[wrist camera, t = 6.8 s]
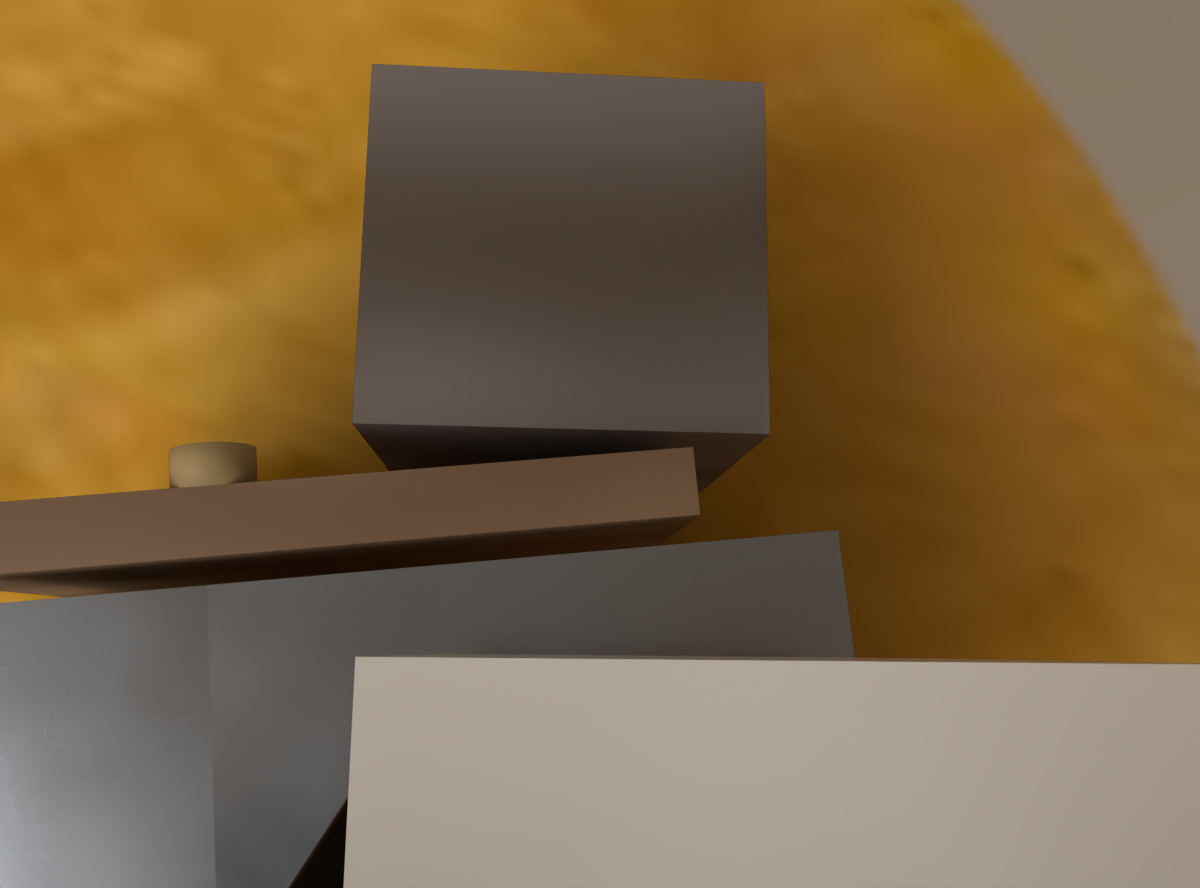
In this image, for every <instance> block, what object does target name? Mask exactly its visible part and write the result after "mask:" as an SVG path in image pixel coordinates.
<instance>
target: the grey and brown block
mask: <svg viewBox="0 0 1200 888" xmlns="http://www.w3.org/2000/svg"><path fill="white" fill-rule="evenodd" d="M427 654H519V655H626V656H732V657H839V658H855V655H854V647H853V640H852V632H851V624H850V617H849V609H848V602H847V594H846V586H845V579H844V571H843V564H842V556H841V548H840V541H839V533H838V530H834V531H823V532H811V533H800V534H788V535H777V536H765V537H754V538H743V539H731V540H720V541H708V542H697V543H685V544H674V545H662V546H651V547H639V548H628V549H616V550H605V551H594V552H582V553H571V554H559V555H548V556H536V557H525V558H513V559H502V560H490V561H479V562H467V563H456V564H445V565H433V566H422V567H410V568H399V569H387V570H376V571H364V572H353V573H341V574H330V575H319V576H307V577H296V578H284V579H273V580H261V581H250V582H238V583H227V584H215V585H204V586H192V587H181V588H170V589H158V590H147V591H135V592H124V593H112V594H101V595H89V596H78V597H66V598H55V599H43V600H32V601H21V602H9V603H0V888H288V887H289V885H290V884H291V882H292V881H293V879H294V878H295V876H296V875H297V873H298V872H299V870H300V869H301V867H302V866H303V864H304V862H305V861H306V859H307V858H308V856H309V855H310V853H311V852H312V850H313V849H314V847H315V846H316V844H317V843H318V841H319V840H320V838H321V837H322V835H323V833H324V832H325V830H326V829H327V827H328V826H329V824H330V823H331V821H332V820H333V818H334V817H335V815H336V814H337V812H338V811H339V809H340V808H341V806H342V804H343V803H344V801H345V800H346V798H347V797H348V790H349V770H350V751H351V732H352V712H353V693H354V674H355V657H364V656H395V655H427Z"/></svg>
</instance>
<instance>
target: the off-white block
mask: <svg viewBox="0 0 1200 888" xmlns="http://www.w3.org/2000/svg"><path fill="white" fill-rule="evenodd" d="M343 888H1200V663H1168V662H1109V661H1050V660H991V659H932V658H839V657H732V656H626V655H519V654H427V655H395V656H364V657H355V674H354V693H353V712H352V732H351V751H350V770H349V790H348V809H347V828H346V847H345V867H344V886H343Z"/></svg>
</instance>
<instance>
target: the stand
mask: <svg viewBox="0 0 1200 888" xmlns="http://www.w3.org/2000/svg"><path fill="white" fill-rule="evenodd" d="M352 424H353V425H354V426H355V427H356V429H357V430H358V431H359V432H360V434H361V435H362V436H363V438H364V439H365V440H366V441H367V443H368V444H369V445H370V446H371V448H372V449H373V450H374V451H375V453H376V454H377V455H378V457H379V458H380V459H381V460H382V462H383V463H384V464H385V465H386V467H387V468H388V469H389V470H390V471H396V470H409V469H422V468H434V467H447V466H459V465H472V464H484V463H497V462H510V461H522V460H535V459H547V458H560V457H572V456H585V455H598V454H610V453H623V452H635V451H648V450H660V449H673V448H686V447H693V452H694V461H695V470H696V480H697V489H698V494H699V493H700V492H701V491H703V490H704V489H705V488H706V487H707V486H709V485H710V484H711V483H712V482H713V481H714V480H716V479H717V478H718V477H719V476H720V475H722V474H723V473H724V472H725V471H726V470H728V469H729V468H730V467H731V466H732V465H734V464H735V463H736V462H737V461H738V460H739V459H741V458H742V457H743V456H744V455H745V454H747V453H748V452H749V451H750V450H751V449H753V448H754V447H755V446H756V445H757V444H759V443H760V442H761V441H762V440H763V439H764V438H766V437H767V436H768V435H769V434H770V404H769V344H768V285H767V225H766V165H765V105H764V83H761V82H740V81H719V80H698V79H677V78H656V77H635V76H614V75H593V74H572V73H551V72H530V71H509V70H488V69H467V68H446V67H425V66H405V65H384V64H372V73H371V91H370V109H369V127H368V146H367V164H366V182H365V200H364V218H363V236H362V254H361V272H360V290H359V308H358V326H357V344H356V362H355V380H354V398H353V416H352Z"/></svg>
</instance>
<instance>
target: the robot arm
mask: <svg viewBox="0 0 1200 888" xmlns="http://www.w3.org/2000/svg"><path fill="white" fill-rule="evenodd" d="M347 809H348V797H347V798H346V800H345V801H344V803H343V804H342V806H341V808H340V809H339V811H338V812H337V814H336V815H335V817H334V818H333V820H332V821H331V823H330V824H329V826H328V827H327V829H326V830H325V832H324V833H323V835H322V837H321V838H320V840H319V841H318V843H317V844H316V846H315V847H314V849H313V850H312V852H311V853H310V855H309V856H308V858H307V859H306V861H305V862H304V864H303V866H302V867H301V869H300V870H299V872H298V873H297V875H296V876H295V878H294V879H293V881H292V882H291V884H290V885H289V887H288V888H343V886H344V867H345V847H346V828H347Z"/></svg>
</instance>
